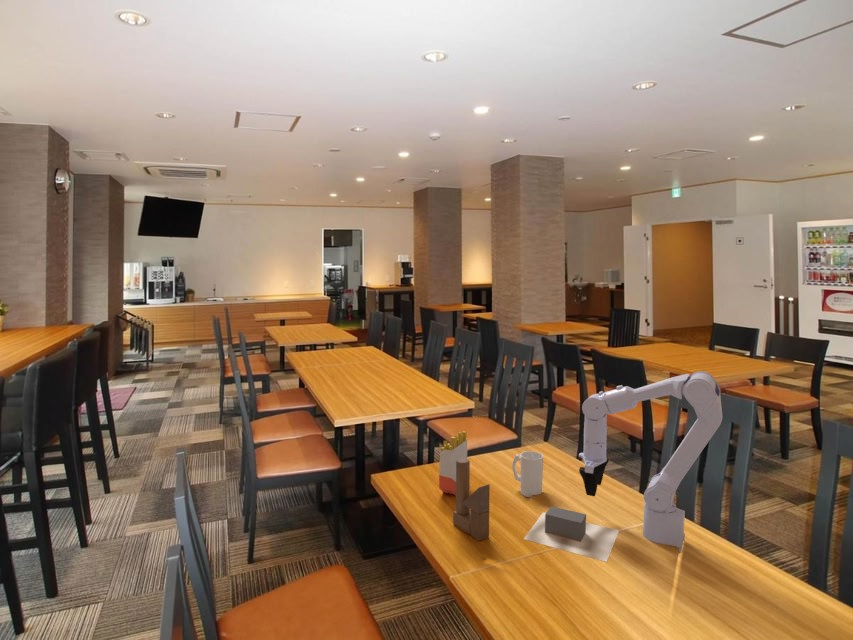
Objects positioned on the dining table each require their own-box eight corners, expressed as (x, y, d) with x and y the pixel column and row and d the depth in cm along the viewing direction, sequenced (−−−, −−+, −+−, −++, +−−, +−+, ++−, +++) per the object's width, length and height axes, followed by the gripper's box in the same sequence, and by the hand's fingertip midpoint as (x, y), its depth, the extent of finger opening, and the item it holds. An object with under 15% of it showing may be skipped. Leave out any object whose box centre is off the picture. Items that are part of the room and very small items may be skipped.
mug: (546, 493, 158) (547, 454, 156) (535, 500, 153) (535, 461, 151) (518, 483, 164) (519, 446, 163) (506, 490, 159) (506, 452, 158)
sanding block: (585, 533, 132) (586, 514, 132) (580, 542, 128) (581, 522, 128) (550, 524, 137) (551, 506, 136) (544, 532, 133) (545, 514, 132)
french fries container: (438, 495, 156) (437, 437, 154) (454, 482, 166) (454, 427, 164) (451, 498, 154) (451, 440, 152) (467, 485, 163) (467, 429, 161)
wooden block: (478, 541, 131) (479, 473, 129) (452, 524, 139) (452, 459, 137) (489, 537, 133) (490, 469, 131) (463, 520, 142) (463, 456, 139)
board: (619, 534, 134) (619, 530, 134) (606, 565, 120) (606, 561, 120) (543, 515, 144) (543, 512, 144) (523, 542, 130) (523, 539, 130)
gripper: (585, 429, 145) (584, 476, 147) (573, 446, 133) (572, 497, 134) (612, 433, 142) (610, 481, 143) (601, 450, 129) (600, 503, 131)
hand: (593, 489), depth 139 cm, fingers open, 7 cm apart
